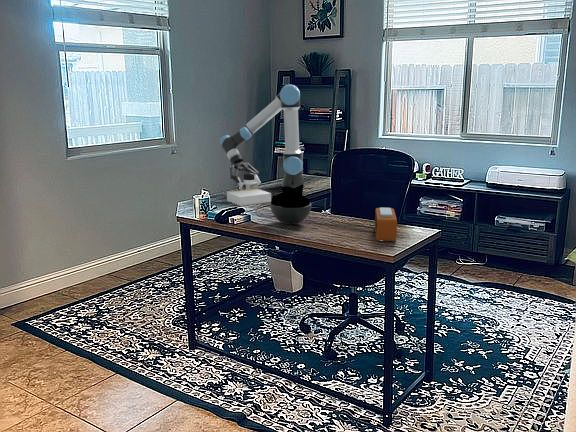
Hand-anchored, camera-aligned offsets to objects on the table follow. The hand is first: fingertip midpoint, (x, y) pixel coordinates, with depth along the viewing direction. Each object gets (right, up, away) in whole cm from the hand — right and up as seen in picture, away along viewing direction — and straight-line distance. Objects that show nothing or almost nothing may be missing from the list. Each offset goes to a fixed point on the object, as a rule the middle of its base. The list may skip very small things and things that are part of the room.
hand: (250, 185), depth 338 cm
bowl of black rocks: (+24, -22, -64) cm, 71 cm away
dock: (0, -10, -15) cm, 18 cm away
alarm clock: (+66, -27, -82) cm, 109 cm away
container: (-1, -6, +3) cm, 6 cm away
